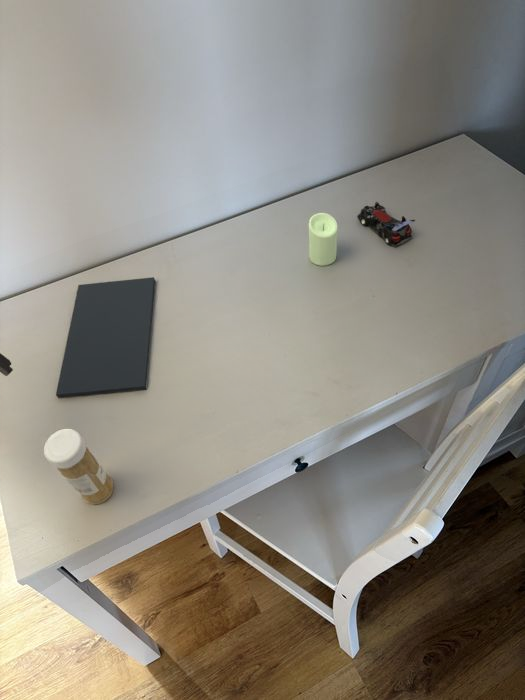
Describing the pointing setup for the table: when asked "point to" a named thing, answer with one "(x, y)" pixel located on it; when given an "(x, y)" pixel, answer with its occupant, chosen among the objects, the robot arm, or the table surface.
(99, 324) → the mat
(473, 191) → the table surface
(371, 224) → the toy car
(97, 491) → the sprinkles bottle
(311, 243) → the candle
